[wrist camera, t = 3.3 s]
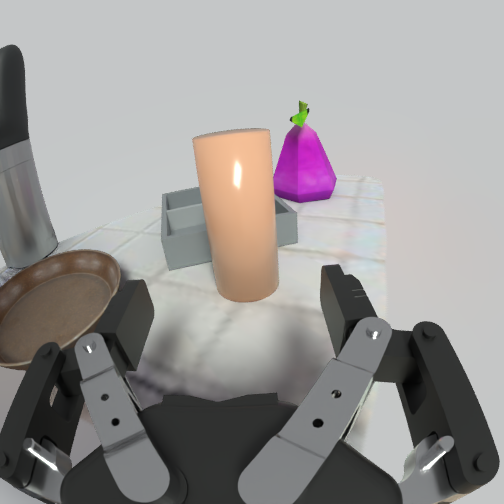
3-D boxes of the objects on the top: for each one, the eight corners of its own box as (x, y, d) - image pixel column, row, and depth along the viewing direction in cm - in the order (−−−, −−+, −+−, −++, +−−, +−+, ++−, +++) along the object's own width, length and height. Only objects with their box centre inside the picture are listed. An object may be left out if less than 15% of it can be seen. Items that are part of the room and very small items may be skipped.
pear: (259, 191, 49) (251, 102, 41) (311, 180, 53) (308, 100, 45) (296, 211, 40) (291, 101, 32) (353, 196, 44) (353, 101, 36)
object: (154, 339, 21) (142, 310, 20) (-15, 409, 13) (-37, 386, 11) (111, 255, 34) (104, 233, 32) (-1, 303, 26) (-12, 284, 24)
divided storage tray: (169, 270, 29) (161, 240, 27) (166, 215, 43) (162, 194, 41) (297, 242, 32) (296, 212, 30) (255, 198, 45) (254, 177, 44)
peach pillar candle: (223, 308, 23) (196, 143, 17) (212, 273, 28) (189, 136, 22) (288, 292, 24) (281, 132, 18) (267, 260, 29) (256, 126, 23)
